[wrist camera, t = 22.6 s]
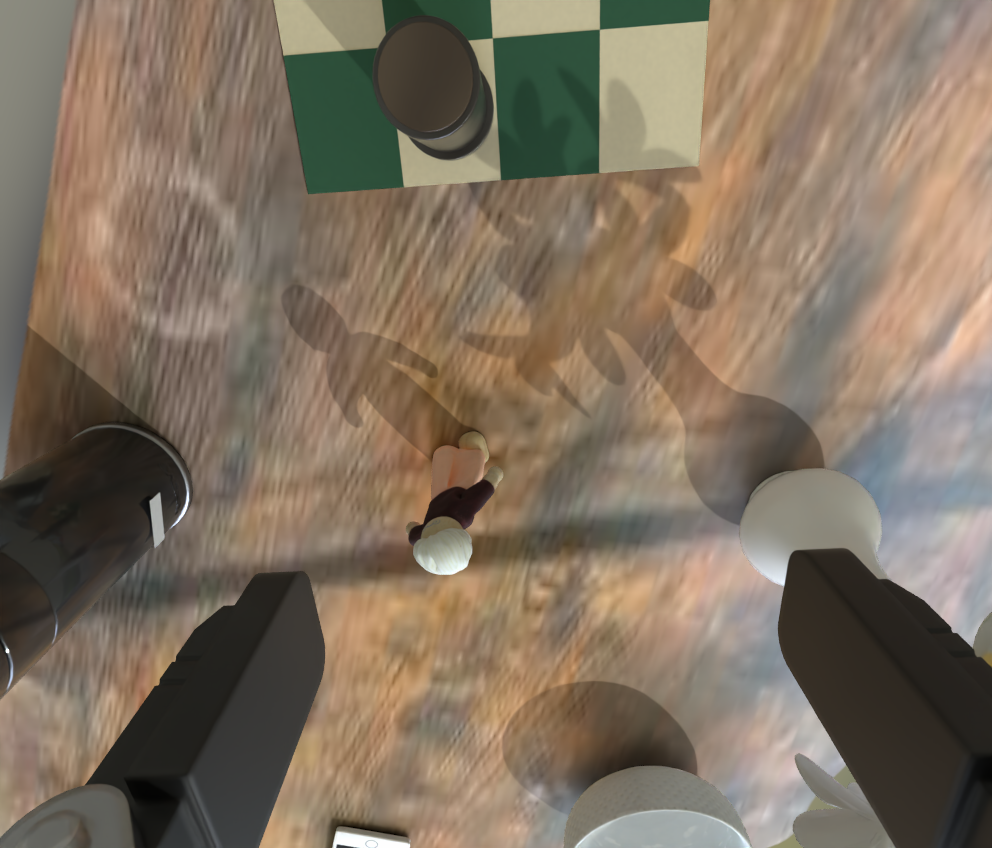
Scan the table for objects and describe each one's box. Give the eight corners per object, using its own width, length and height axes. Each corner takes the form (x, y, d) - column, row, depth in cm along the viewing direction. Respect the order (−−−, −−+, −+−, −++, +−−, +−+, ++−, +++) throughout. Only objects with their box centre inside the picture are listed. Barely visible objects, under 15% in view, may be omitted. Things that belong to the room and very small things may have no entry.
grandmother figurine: (470, 408, 40) (456, 498, 29) (510, 441, 41) (512, 541, 30) (405, 479, 43) (367, 588, 31) (444, 508, 44) (421, 625, 32)
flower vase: (659, 584, 46) (813, 979, 23) (767, 380, 39) (1140, 654, 16) (801, 623, 47) (1081, 1033, 24) (930, 432, 41) (1488, 753, 18)
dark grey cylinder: (408, 163, 34) (371, 154, 25) (396, 60, 32) (351, 5, 23) (496, 157, 34) (493, 145, 24) (490, 52, 32) (484, -6, 22)
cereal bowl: (571, 727, 53) (580, 803, 46) (746, 740, 53) (780, 818, 46) (548, 841, 59) (553, 922, 53) (704, 852, 60) (728, 934, 53)
